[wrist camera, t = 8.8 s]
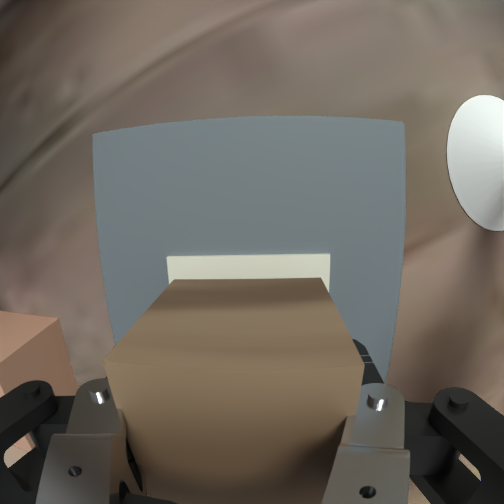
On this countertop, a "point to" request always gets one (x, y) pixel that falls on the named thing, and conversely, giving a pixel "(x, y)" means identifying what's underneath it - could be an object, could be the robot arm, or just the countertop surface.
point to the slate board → (256, 212)
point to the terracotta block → (33, 357)
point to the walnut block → (237, 390)
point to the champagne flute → (479, 160)
